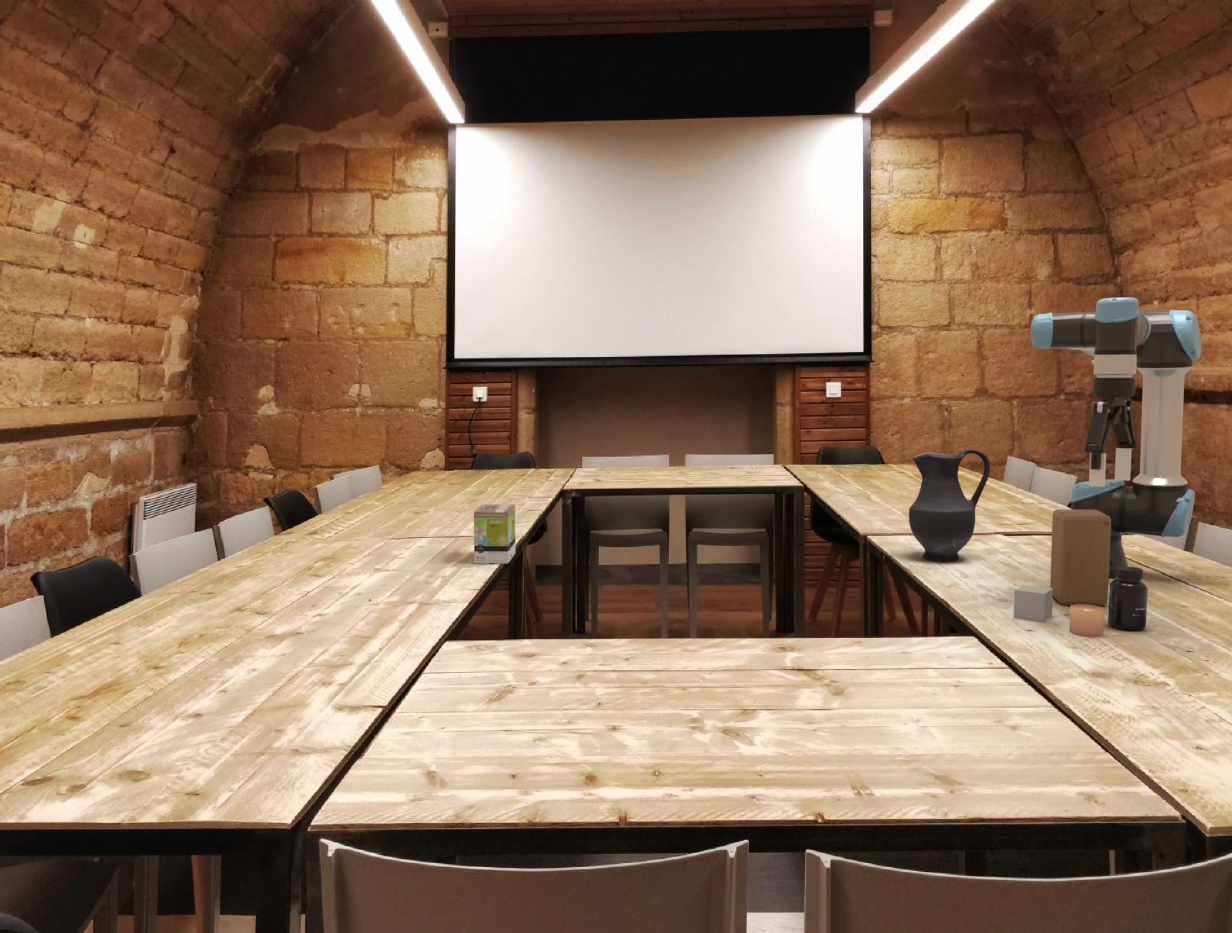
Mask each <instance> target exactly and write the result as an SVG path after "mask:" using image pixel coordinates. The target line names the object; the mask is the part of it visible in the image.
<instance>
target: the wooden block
mask: <svg viewBox="0 0 1232 933" xmlns="http://www.w3.org/2000/svg"><path fill="white" fill-rule="evenodd" d="M1051 524H1052V526H1051V527H1052V528H1051V549H1050V550H1051V552H1050V553H1051V554H1050V556H1051V557H1050V580H1049V581H1050V584H1049V585H1050V586H1049V588H1053V598H1054V599H1055V600H1056V602H1058V603H1059V604H1061V605H1063V606H1071V605H1076V604H1086V605H1094V606H1099V607H1104V606H1107V604H1109V587H1110V583H1109V582H1110V581H1109V580H1110V577H1109V561H1110V536H1111V519H1110V517H1109V516H1107V515H1105V514H1103V513H1101V512H1100V511H1097V510H1071V509H1066V508H1065V509H1058V508H1057V509H1055V510H1054V511H1053V512H1052V521H1051Z"/></svg>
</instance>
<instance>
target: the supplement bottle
mask: <svg viewBox="0 0 1232 933" xmlns="http://www.w3.org/2000/svg"><path fill="white" fill-rule="evenodd" d="M1115 576H1116V577H1115V578H1116V579H1113V580H1112V581H1110V583H1109V587H1108V610H1107V611H1108V612H1107V624H1108V626H1109V627H1111V628H1114V629H1116V630H1121V631H1129V632H1140V631H1143V630H1144V629H1146V626H1147V616H1148V615H1147V614H1148V613H1147V612H1148V596H1149V595H1148V594H1149V593H1148V592H1149V587H1148V585H1147V584H1146V583H1145V582H1143V581H1142V580H1143V579H1144V569H1142V568H1140V567H1136V566H1130V565H1128V566H1120V567H1117V568H1116V574H1115Z"/></svg>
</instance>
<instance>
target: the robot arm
mask: <svg viewBox="0 0 1232 933" xmlns="http://www.w3.org/2000/svg"><path fill="white" fill-rule="evenodd" d="M1095 307H1096V308H1095V311H1084V312H1080V311H1079V312H1076V311H1075V312H1056V313H1054V312H1048V313H1040V314H1036V315H1035V316H1033V318H1032V321H1031V325H1030V341H1031V344H1032V346H1033V347H1034V348H1035V349H1046V350H1050V349H1053V350H1055V349H1061V350H1062V349H1063V350H1075V351H1076V350H1077V351H1081V352H1082V353H1084V354H1085V355H1088V356H1092V357H1093V360H1091V365H1093V375H1094V376H1096V377H1094V378H1093V380H1092V396H1094V397H1097V398H1098V397H1100V398H1101V400H1100V401H1093V407H1092V417H1091V420H1090V424H1089V429H1088V433H1087V437H1086V441H1085V446H1084V447H1085V448H1084V453H1089V471H1088V472H1089V475H1088V481H1081V482H1078V483H1076V484H1075V485H1074V486H1073V487H1072V492H1071V499H1070V505H1071V506H1070V510H1097V511H1100V512H1101V513H1103V514H1105V515H1107V516H1109V517H1110V519H1111V536H1110V561H1109V578H1117V577H1116V576H1115V574H1116V568H1117V567H1120V566H1129V563H1128V559H1127V556H1126V554H1125V550H1124V547H1123V544H1122V537H1123V536H1122V535H1123V534H1132V535H1133V534H1134V535H1143V536H1144V535H1145V536H1156V537H1161V538H1165V537H1166V538H1169V537H1170V538H1179V537H1182V536H1184V535H1185V534H1186V533H1187V531H1188V528H1189V526H1190V523H1191V519H1192V515H1193V511H1194V506H1195V500H1196V498H1195V497H1196V496H1195V495H1196V493H1195V490H1193V489H1190V488H1188V481H1187V480H1186V479H1185V477H1184V476H1182V474H1181V472H1182V470H1181V469H1182V451H1183V450H1182V445H1183V443H1182V442H1183V423H1184V422H1183V421H1184V417H1183V415H1184V396H1185V394H1184V392H1185V375H1186V374H1187V373H1189V371H1190V370H1191V369H1193V361H1194V362H1195V361H1198V360H1199V359H1200V358H1201V356H1202V355H1201V354H1202V342H1201V341H1202V340H1201V339H1202V338H1201V332H1200V326H1199V321H1198V319H1197V316H1196V315H1195V313H1194V312H1193V311H1191V310H1186V309H1185V310H1182V309H1181V310H1178V309H1175V310H1174V309H1169V310H1168V309H1167V310H1155V311H1154V310H1153V311H1151V310H1150V311H1148V310H1147V311H1140V309H1139V300H1138V299H1137V298H1135V297H1130V296H1129V297H1126V296H1124V297H1106V298H1101V299H1099V300H1098V301H1097V302H1096V306H1095ZM1137 371H1138V372H1139V373H1140V374H1141V375H1142V398H1141V400H1142V401H1141V403H1142V404H1141V432H1140V434H1141V435H1140V460H1139V461H1140V462H1139V463H1140V465H1139V466H1140V467H1139V473H1138V475H1136V477H1134V478H1133V479H1132V486H1129V485H1125V484H1126V483H1125V481H1126V482H1127V481H1131V470H1132V468H1131V467H1132V449H1137V446H1138V443H1137V438H1136V430H1135V425H1134V424H1135V422H1134V418H1133V400H1132V399H1126V397H1127V398H1129V397H1130V398H1131V397H1133V396H1135V394H1136V379H1135V377H1133V375H1134V376H1135V375H1137ZM1112 429H1113V434H1114V436H1115V440H1116V444H1117V447H1115V462H1114V466H1115V467H1114V479H1106V464H1107V463H1106V461H1107V453H1105V450H1106V447H1107V443H1108V440H1109V438H1110V434H1111V432H1112Z"/></svg>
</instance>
